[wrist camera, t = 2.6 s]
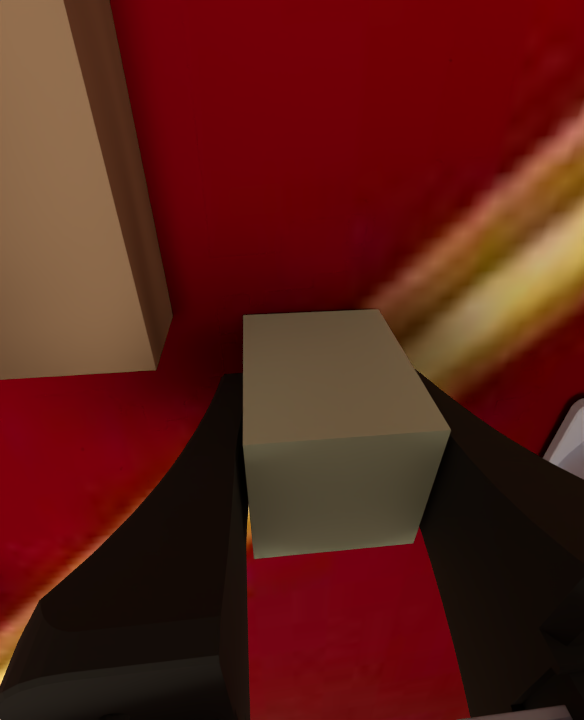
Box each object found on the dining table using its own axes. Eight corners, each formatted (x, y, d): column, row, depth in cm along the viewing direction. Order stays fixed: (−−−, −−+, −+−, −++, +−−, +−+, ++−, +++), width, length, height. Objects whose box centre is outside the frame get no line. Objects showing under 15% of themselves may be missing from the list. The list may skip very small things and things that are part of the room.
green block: (378, 308, 12) (450, 429, 8) (363, 409, 14) (413, 543, 10) (243, 314, 11) (242, 445, 7) (251, 416, 14) (254, 558, 9)
